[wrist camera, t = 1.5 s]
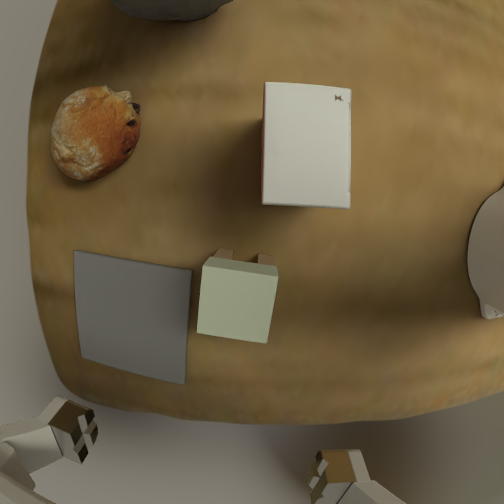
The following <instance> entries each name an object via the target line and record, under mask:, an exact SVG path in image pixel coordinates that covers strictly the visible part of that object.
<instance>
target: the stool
mask: <svg viewBox="0 0 504 504" xmlns="http://www.w3.org/2000/svg"><path fill="white" fill-rule="evenodd" d="M233 252H234V250H230V249H223V248H219V249H218V250H217V252H216V253H215V255H214V256H213V257H209V258H208V260H207V261H206V262H205V263H204V265H203V269H202V279H201V289H200V300H199V311H198V323H197V333H201V334H207V335H213V336H219V337H225V338H231V339H238V340H245V341H252V342H259V343H267V338H268V333H269V328H270V322H271V317H272V311H273V306H274V300H275V295H276V289H277V283H278V277H279V276H278V270H277V266H274V259H273V256H270V255H264V254H258V261H257V263H250V262H244V261H237V260H232V259H233Z"/></svg>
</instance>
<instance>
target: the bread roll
mask: <svg viewBox="0 0 504 504" xmlns="http://www.w3.org/2000/svg"><path fill="white" fill-rule="evenodd" d="M131 99H132V96H131V94H130V92H129V91H126V90H125V91H122V92H114V91H112V90H111V89H110V88H108V87H107V85H104V86H92V87H88V88H83V89H81V90H77V91H75V92H74V93H72V94H71V95H69V96H68V97H67V98H66V99H65V100H64V101H63V102H62V104H61V105H60V107H59V109H58V111H57V114H56V116H55V118H54V121H53V124H52V129H51V139H52V141H51V152H52V157H53V159H54V162H55V163H56V165H57V167H58V168H59V169H60V170H61V171H62V172H63V173H64V174H65V175H67V176H68V177H70V178H72V179H75V180H80V181H89V180H93V179H94V180H95V179H98V178H100V177H102V176H104V175H105V174H107V173H109V172H110V171H112V170H114V169H115V168H117V167H118V166H120V165H121V164H122V163H124V162H125V161H126V160H127V159H128V157H129V156H130V155H131V153H132V152H133V150H134V147H135V145H136V143H137V141H138V139H139V135H140V116H139V111H140V105H139V104H136V103H130V101H131Z"/></svg>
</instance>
